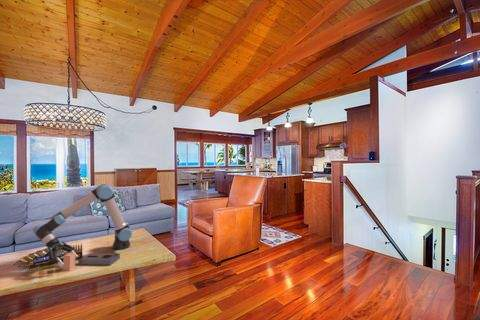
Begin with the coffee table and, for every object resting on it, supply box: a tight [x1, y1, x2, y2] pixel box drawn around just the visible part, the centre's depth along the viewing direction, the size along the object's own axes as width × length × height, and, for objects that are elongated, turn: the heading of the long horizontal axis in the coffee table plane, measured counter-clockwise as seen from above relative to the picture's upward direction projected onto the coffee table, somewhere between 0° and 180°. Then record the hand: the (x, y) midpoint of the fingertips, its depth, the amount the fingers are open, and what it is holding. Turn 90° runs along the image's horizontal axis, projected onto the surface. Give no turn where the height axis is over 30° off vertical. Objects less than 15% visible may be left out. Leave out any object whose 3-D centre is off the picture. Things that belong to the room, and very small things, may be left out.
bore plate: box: [77, 252, 121, 266], centre depth 180 cm, size 13×26×4 cm, turn 89°
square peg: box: [62, 252, 76, 272], centre depth 168 cm, size 5×5×11 cm
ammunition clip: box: [66, 243, 83, 260], centre depth 185 cm, size 11×2×12 cm, turn 128°
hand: (69, 261), depth 167 cm, fingers open, 13 cm apart
